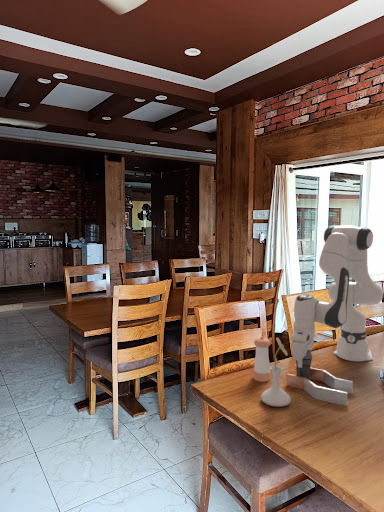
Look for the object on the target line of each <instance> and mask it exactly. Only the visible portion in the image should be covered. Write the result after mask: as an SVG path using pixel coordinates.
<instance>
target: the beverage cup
mask: <svg viewBox="0 0 384 512" xmlns="http://www.w3.org/2000/svg"><path fill="white" fill-rule="evenodd" d="M312 361H313V355H312V352H311V350H309V349H308V351H307V354H306V356H305V357H304V358H303V360H302V363H303V367H302V368H299V367H298V362H297V360H296V359H295V363H296V364H295V365H296V367H297V376H302V377H306V378H307V379H309V375H310V367H311V365H312ZM309 380H310V379H309Z"/></svg>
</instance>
